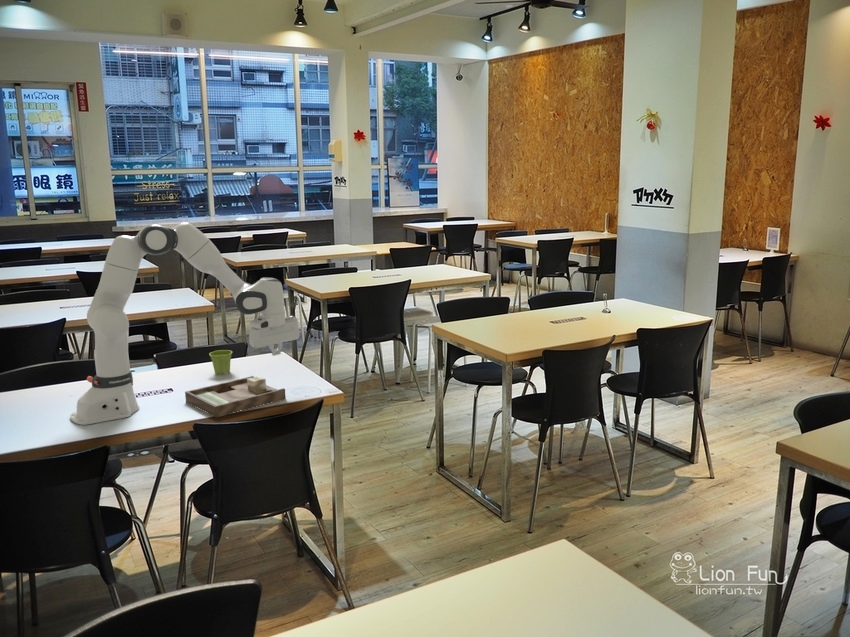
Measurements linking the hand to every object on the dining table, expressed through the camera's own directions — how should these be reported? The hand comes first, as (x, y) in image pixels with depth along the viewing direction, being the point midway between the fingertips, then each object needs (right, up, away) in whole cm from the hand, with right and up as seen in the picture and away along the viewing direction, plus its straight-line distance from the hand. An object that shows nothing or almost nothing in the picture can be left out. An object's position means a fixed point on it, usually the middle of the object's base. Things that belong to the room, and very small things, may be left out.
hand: (276, 354), depth 279 cm
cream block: (-7, -13, -4) cm, 15 cm away
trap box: (-13, -17, -9) cm, 23 cm away
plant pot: (-29, -9, +28) cm, 41 cm away
